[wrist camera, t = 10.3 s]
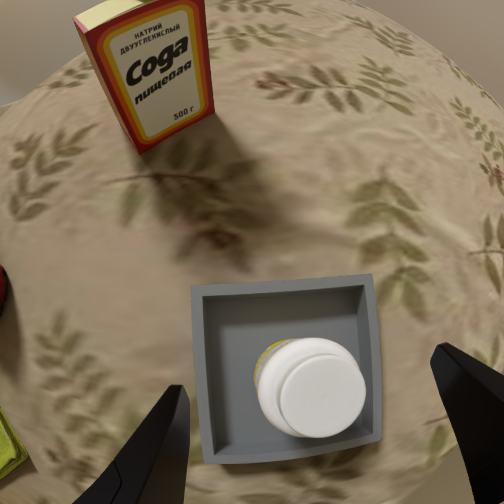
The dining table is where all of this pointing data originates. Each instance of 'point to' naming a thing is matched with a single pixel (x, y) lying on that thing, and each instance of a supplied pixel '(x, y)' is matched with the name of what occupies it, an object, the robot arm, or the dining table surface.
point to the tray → (262, 336)
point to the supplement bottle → (309, 387)
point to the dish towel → (9, 448)
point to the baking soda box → (150, 64)
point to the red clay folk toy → (2, 287)
